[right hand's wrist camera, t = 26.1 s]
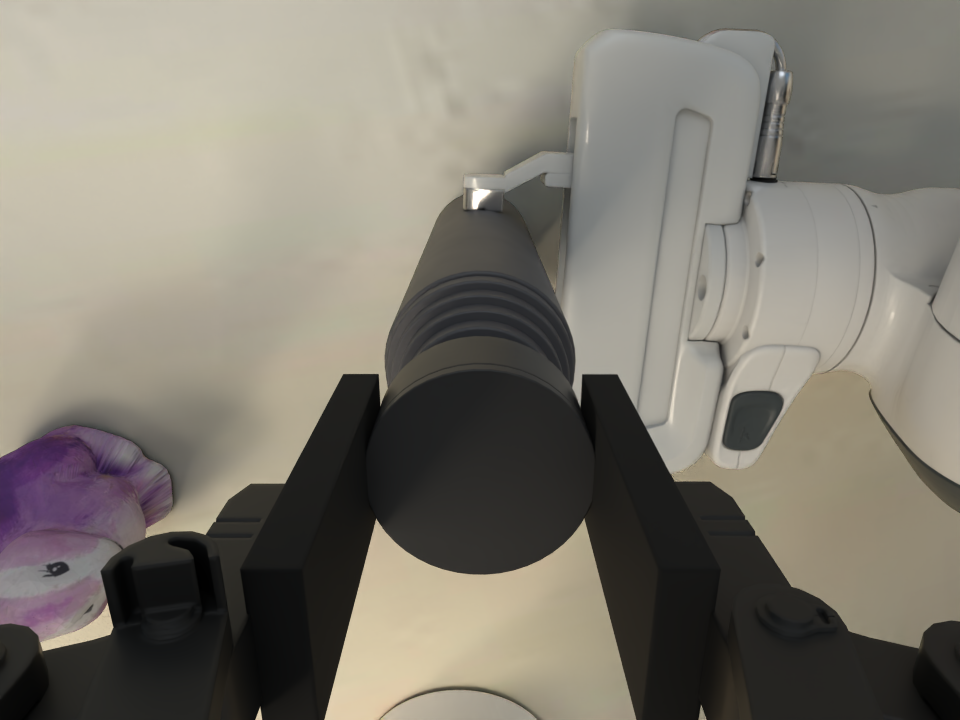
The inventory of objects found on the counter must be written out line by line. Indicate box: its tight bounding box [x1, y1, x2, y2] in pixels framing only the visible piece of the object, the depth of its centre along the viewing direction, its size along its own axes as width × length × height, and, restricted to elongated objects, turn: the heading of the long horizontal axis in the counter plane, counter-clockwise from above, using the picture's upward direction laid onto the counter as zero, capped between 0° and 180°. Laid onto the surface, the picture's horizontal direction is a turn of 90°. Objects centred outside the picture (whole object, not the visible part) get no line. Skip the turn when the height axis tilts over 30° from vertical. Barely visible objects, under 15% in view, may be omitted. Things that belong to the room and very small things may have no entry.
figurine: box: [0, 425, 173, 642], centre depth 35 cm, size 9×10×15 cm
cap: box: [366, 336, 595, 574], centre depth 14 cm, size 4×4×2 cm
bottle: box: [385, 196, 576, 388], centre depth 25 cm, size 5×5×25 cm
